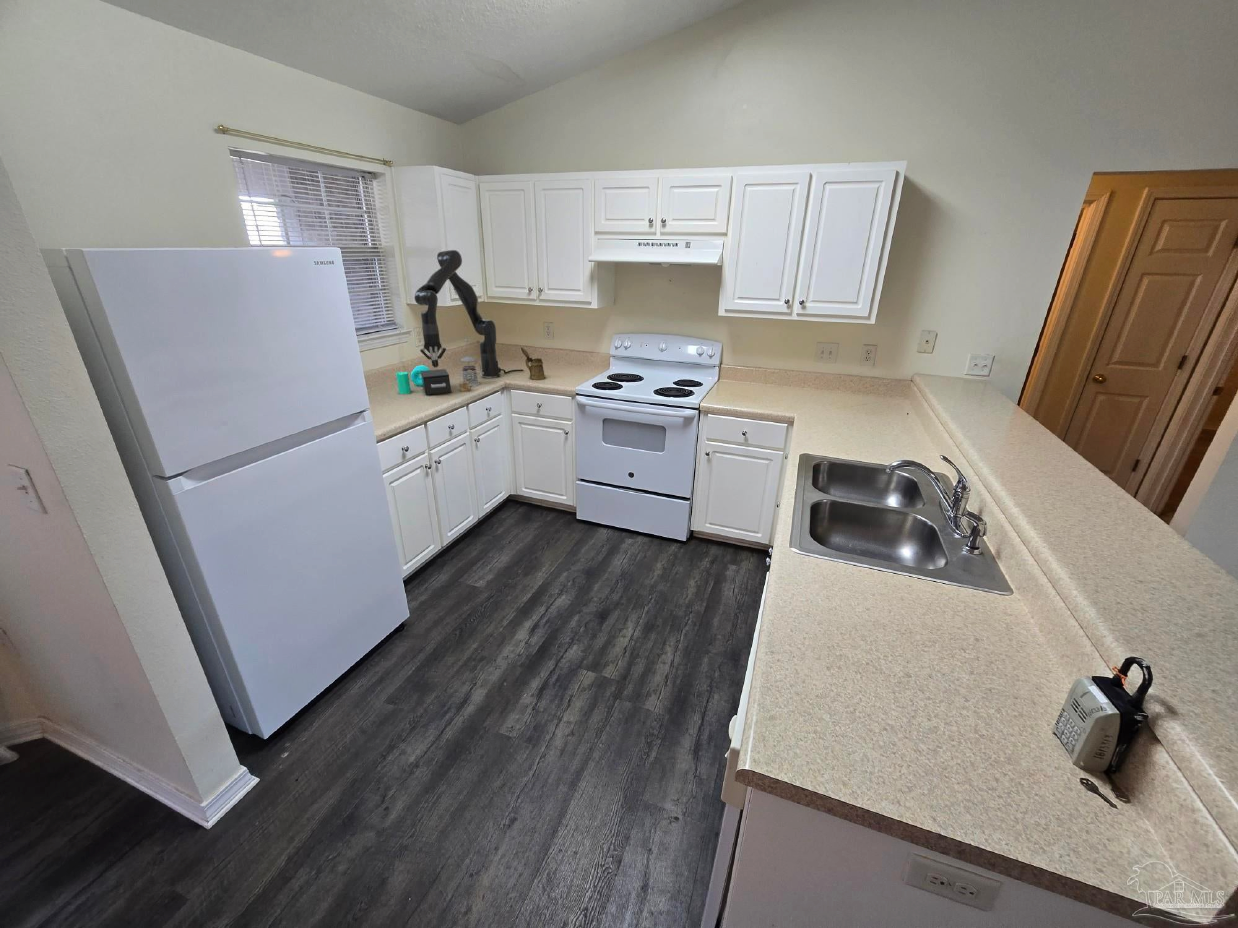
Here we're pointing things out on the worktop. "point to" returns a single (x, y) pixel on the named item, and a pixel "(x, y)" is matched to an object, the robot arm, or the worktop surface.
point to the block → (464, 386)
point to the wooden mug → (534, 366)
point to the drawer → (437, 385)
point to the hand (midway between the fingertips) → (435, 367)
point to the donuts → (415, 374)
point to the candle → (403, 382)
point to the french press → (473, 379)
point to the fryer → (433, 375)
